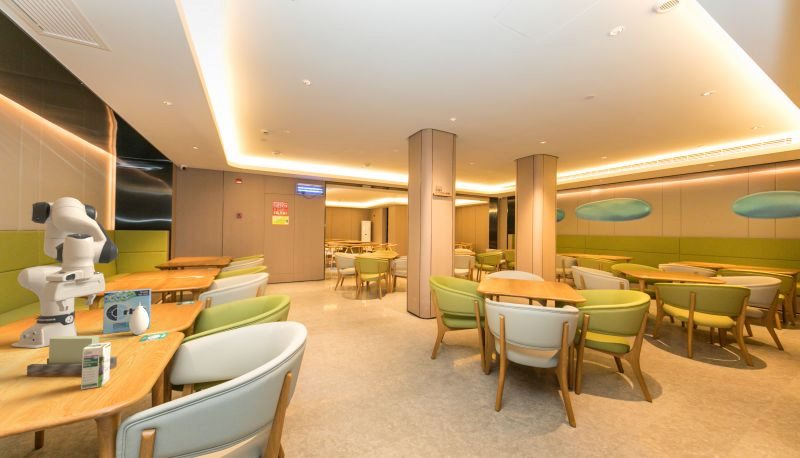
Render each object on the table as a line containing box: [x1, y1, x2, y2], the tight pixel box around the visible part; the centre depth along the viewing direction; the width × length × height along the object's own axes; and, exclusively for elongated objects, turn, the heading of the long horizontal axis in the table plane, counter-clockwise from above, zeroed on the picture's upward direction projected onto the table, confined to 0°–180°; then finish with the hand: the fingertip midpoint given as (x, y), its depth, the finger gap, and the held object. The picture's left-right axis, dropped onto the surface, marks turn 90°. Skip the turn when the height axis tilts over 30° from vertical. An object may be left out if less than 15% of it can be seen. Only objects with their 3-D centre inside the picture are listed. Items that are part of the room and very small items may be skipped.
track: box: [26, 356, 118, 377], centre depth 116 cm, size 26×8×4 cm, turn 93°
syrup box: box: [80, 341, 112, 391], centre depth 106 cm, size 6×6×14 cm
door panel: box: [48, 335, 100, 364], centre depth 116 cm, size 16×3×12 cm, turn 93°
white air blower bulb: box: [129, 303, 149, 336], centre depth 159 cm, size 8×8×18 cm
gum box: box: [102, 288, 152, 335], centre depth 165 cm, size 20×5×23 cm, turn 123°
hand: (76, 307), depth 117 cm, fingers open, 8 cm apart
